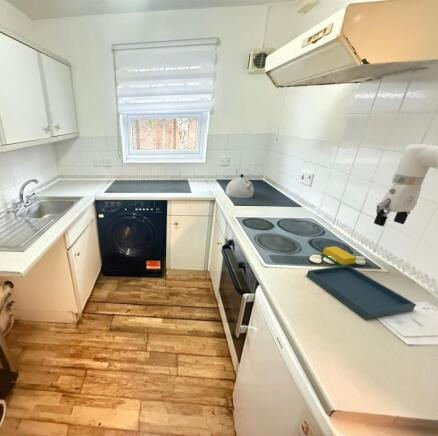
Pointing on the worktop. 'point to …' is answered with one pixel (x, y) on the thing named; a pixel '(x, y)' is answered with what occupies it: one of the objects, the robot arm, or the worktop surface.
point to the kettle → (240, 187)
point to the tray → (360, 292)
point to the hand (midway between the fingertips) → (388, 223)
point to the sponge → (339, 256)
